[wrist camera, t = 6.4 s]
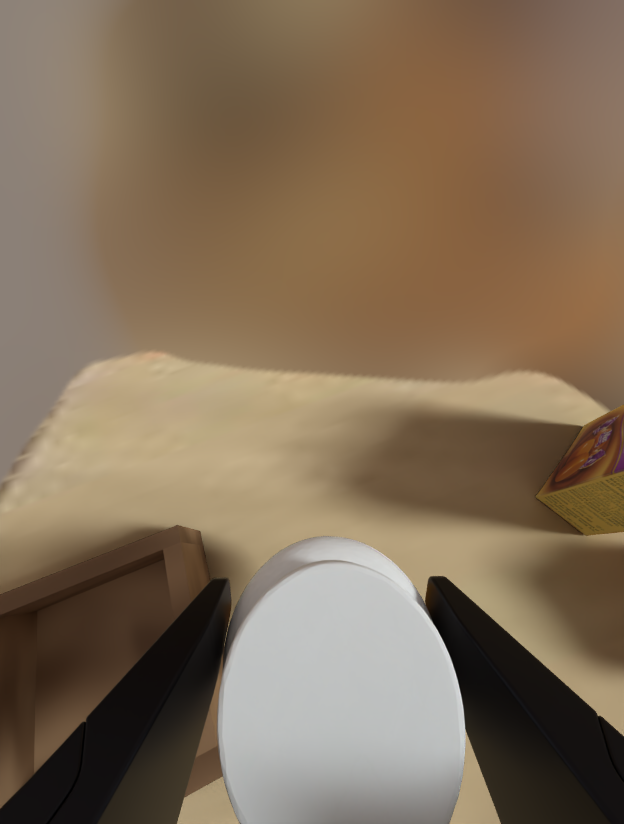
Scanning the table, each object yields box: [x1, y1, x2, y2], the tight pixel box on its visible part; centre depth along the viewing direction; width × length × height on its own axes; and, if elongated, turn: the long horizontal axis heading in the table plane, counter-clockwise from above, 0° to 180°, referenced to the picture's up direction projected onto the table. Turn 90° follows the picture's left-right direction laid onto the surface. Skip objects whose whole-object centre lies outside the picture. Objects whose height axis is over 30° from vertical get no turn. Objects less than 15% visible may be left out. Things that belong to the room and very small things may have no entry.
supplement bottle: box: [217, 536, 465, 824], centre depth 9 cm, size 5×5×10 cm
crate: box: [0, 525, 225, 808], centre depth 16 cm, size 11×11×4 cm
